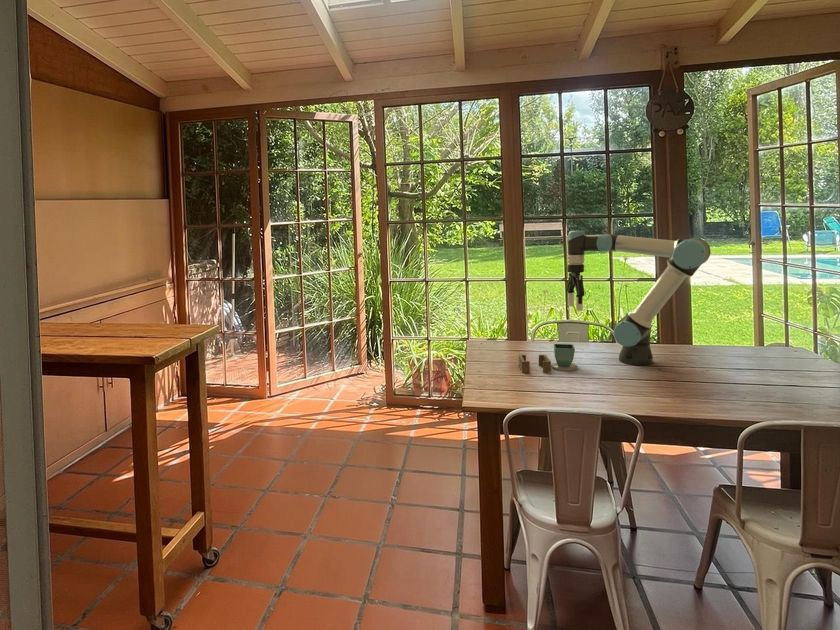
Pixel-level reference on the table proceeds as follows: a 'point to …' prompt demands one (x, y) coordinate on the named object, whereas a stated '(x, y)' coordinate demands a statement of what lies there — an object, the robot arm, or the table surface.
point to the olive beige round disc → (564, 367)
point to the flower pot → (564, 354)
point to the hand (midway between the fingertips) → (574, 308)
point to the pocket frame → (543, 362)
